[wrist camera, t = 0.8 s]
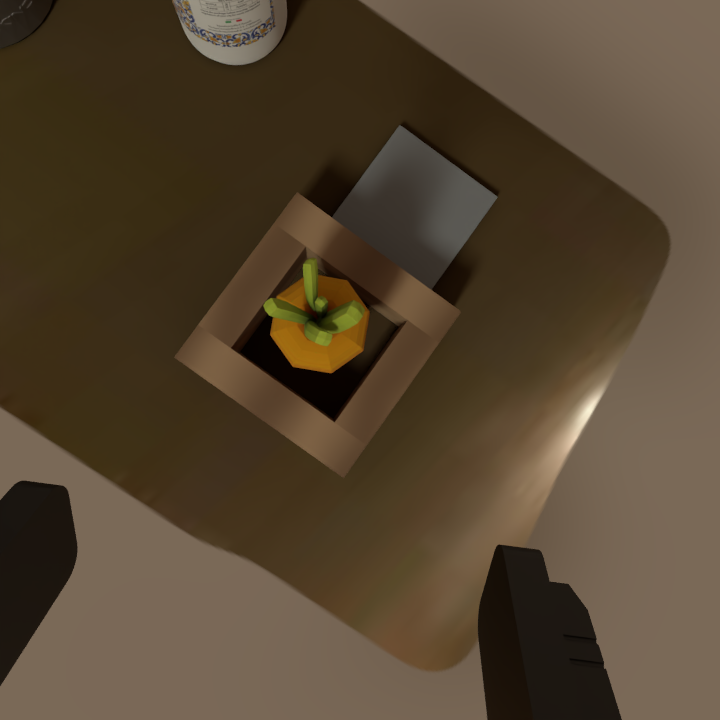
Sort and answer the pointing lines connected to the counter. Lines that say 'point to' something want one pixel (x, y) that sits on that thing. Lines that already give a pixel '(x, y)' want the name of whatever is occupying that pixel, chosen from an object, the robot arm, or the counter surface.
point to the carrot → (318, 321)
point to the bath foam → (233, 27)
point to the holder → (246, 312)
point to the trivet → (415, 207)
